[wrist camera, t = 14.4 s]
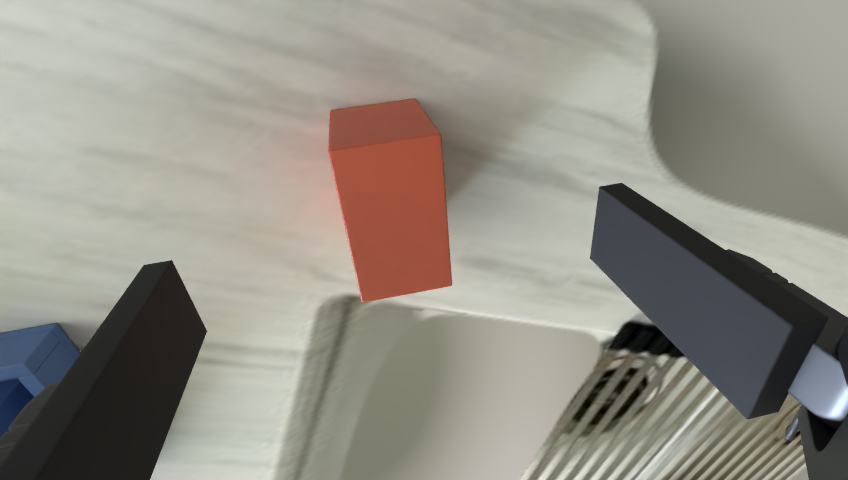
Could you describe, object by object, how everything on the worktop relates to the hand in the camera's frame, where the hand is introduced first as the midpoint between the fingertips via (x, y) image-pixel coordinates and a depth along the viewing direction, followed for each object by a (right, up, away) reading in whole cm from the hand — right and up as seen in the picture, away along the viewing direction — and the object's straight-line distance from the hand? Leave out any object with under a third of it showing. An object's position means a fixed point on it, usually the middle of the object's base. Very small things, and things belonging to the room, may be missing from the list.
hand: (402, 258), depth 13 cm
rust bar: (-1, +4, +5) cm, 7 cm away
